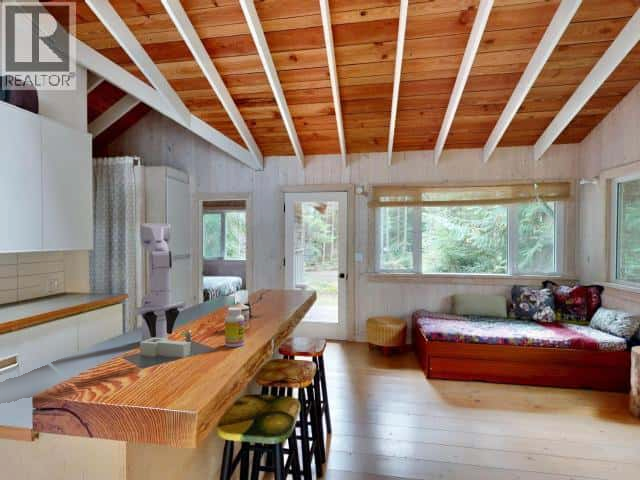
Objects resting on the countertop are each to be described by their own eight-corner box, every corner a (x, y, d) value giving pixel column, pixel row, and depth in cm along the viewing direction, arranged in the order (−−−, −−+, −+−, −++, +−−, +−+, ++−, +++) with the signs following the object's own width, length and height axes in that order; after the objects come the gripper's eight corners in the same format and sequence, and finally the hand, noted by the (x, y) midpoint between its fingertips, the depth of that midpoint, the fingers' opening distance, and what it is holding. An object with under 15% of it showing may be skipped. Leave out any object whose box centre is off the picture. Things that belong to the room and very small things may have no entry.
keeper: (180, 352, 117) (180, 334, 117) (186, 347, 123) (186, 329, 123) (185, 352, 117) (185, 333, 117) (191, 347, 123) (191, 329, 124)
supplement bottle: (239, 348, 122) (239, 310, 122) (222, 347, 123) (221, 310, 123) (247, 342, 128) (246, 307, 128) (230, 341, 129) (230, 306, 130)
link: (140, 354, 114) (140, 342, 114) (154, 349, 120) (154, 337, 120) (180, 359, 109) (180, 346, 109) (193, 353, 114) (193, 340, 114)
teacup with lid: (246, 331, 145) (246, 303, 145) (224, 331, 145) (224, 303, 145) (253, 324, 156) (253, 298, 157) (233, 325, 157) (233, 298, 157)
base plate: (121, 358, 112) (121, 356, 112) (192, 342, 130) (192, 340, 130) (142, 370, 101) (142, 368, 101) (217, 350, 119) (217, 349, 119)
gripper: (141, 294, 100) (141, 342, 99) (189, 288, 110) (190, 332, 110) (131, 292, 104) (132, 338, 104) (179, 287, 115) (179, 329, 115)
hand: (161, 335), depth 107 cm, fingers open, 4 cm apart
